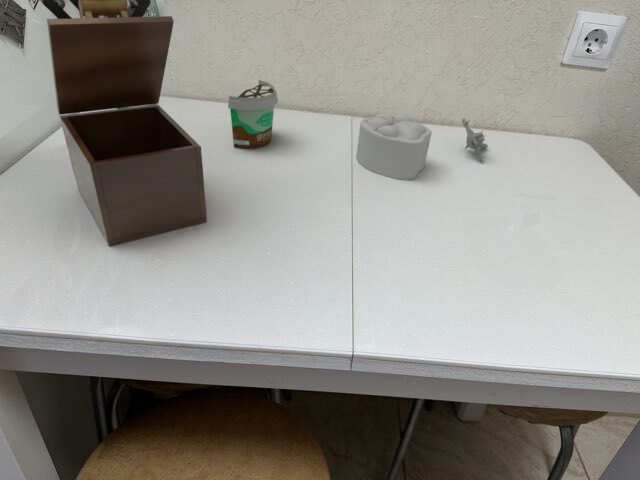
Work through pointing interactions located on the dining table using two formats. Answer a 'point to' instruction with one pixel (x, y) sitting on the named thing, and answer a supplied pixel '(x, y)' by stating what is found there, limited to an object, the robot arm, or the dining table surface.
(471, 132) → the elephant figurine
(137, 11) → the robot arm
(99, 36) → the lid
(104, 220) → the chest
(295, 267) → the dining table surface
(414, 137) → the lumpy-topped squat cylinder
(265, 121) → the food container
